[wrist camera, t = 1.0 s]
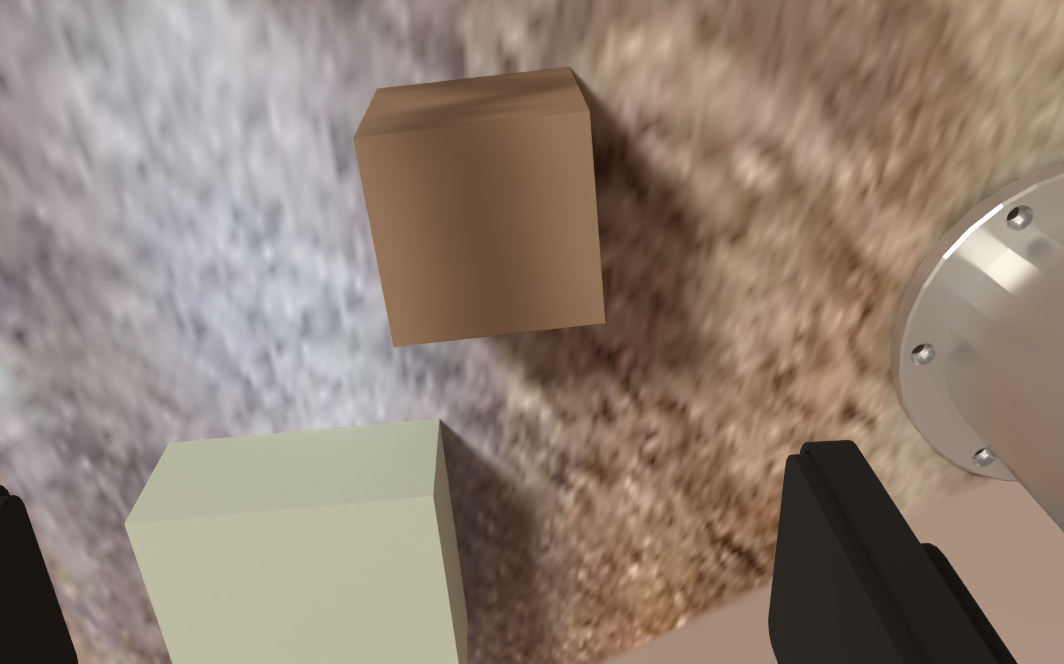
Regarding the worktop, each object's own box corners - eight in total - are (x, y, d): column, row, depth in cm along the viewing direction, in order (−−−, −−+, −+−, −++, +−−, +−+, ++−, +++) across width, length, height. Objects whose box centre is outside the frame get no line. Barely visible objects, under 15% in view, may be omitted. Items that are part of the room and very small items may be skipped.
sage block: (439, 414, 34) (433, 495, 30) (468, 616, 39) (466, 713, 34) (171, 438, 34) (124, 524, 29) (231, 637, 38) (198, 737, 34)
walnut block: (569, 66, 28) (589, 111, 23) (583, 245, 31) (605, 323, 26) (377, 88, 28) (353, 137, 23) (408, 265, 31) (393, 347, 26)
